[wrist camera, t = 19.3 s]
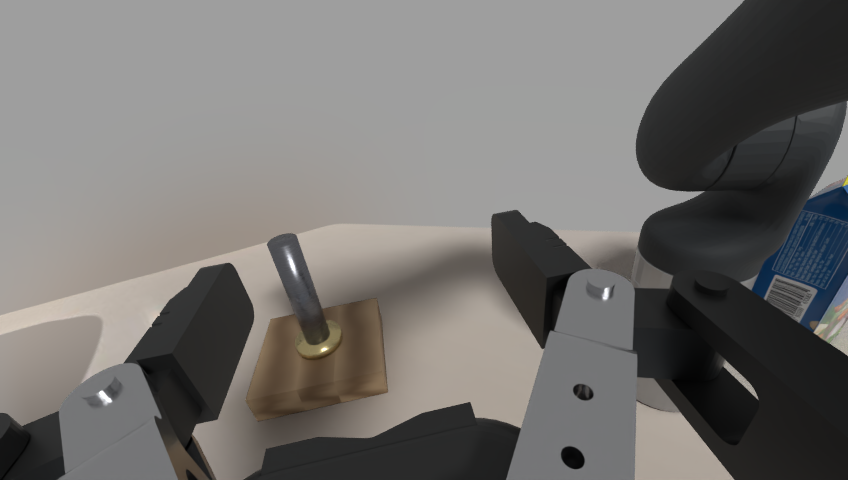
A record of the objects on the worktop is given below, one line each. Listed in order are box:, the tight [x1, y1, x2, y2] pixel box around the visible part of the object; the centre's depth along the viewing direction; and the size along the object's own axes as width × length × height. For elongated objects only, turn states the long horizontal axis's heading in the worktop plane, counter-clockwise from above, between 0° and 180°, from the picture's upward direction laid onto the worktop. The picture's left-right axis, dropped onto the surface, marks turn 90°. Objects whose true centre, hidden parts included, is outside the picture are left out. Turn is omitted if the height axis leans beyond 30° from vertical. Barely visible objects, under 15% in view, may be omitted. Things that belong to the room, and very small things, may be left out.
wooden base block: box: [245, 298, 388, 421], centre depth 49 cm, size 16×14×4 cm
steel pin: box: [267, 234, 343, 360], centre depth 44 cm, size 6×6×20 cm
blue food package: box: [751, 176, 848, 343], centre depth 37 cm, size 6×12×25 cm, turn 117°
